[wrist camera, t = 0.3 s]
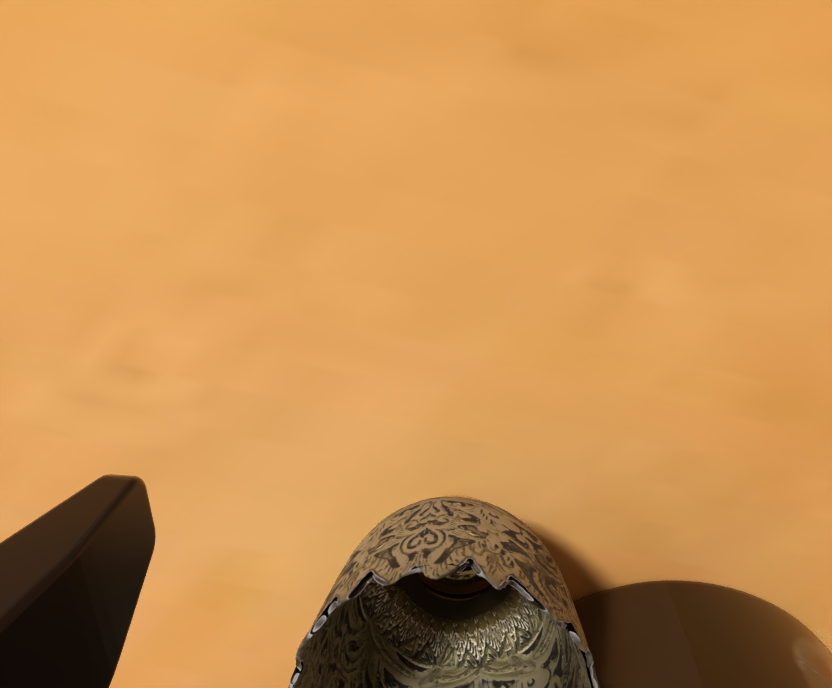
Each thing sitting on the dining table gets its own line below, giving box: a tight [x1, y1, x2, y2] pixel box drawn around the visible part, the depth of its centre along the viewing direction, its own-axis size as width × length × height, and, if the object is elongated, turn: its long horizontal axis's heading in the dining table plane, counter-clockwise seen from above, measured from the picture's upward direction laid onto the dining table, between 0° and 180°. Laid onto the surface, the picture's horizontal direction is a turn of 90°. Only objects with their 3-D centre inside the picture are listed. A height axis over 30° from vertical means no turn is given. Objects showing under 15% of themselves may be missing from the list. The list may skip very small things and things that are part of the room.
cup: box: [289, 495, 600, 688], centre depth 22 cm, size 8×7×8 cm
